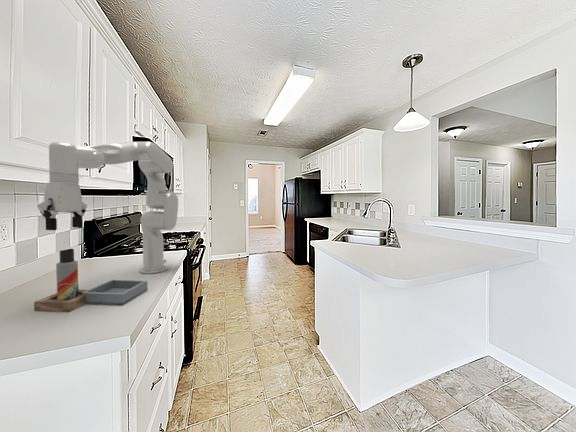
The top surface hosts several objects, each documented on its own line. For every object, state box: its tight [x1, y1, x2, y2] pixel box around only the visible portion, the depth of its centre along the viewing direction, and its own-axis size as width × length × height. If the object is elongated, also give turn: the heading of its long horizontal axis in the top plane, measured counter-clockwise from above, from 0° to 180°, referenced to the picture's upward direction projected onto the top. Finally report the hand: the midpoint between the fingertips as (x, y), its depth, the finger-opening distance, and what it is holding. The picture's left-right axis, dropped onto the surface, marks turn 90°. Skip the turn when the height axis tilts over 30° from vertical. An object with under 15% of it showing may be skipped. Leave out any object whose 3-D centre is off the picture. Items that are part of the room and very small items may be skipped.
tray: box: [81, 279, 148, 306], centre depth 96 cm, size 15×15×4 cm
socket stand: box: [33, 288, 98, 313], centre depth 88 cm, size 12×12×3 cm
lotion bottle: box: [55, 248, 79, 300], centre depth 88 cm, size 6×6×20 cm
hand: (65, 228), depth 86 cm, fingers open, 9 cm apart
